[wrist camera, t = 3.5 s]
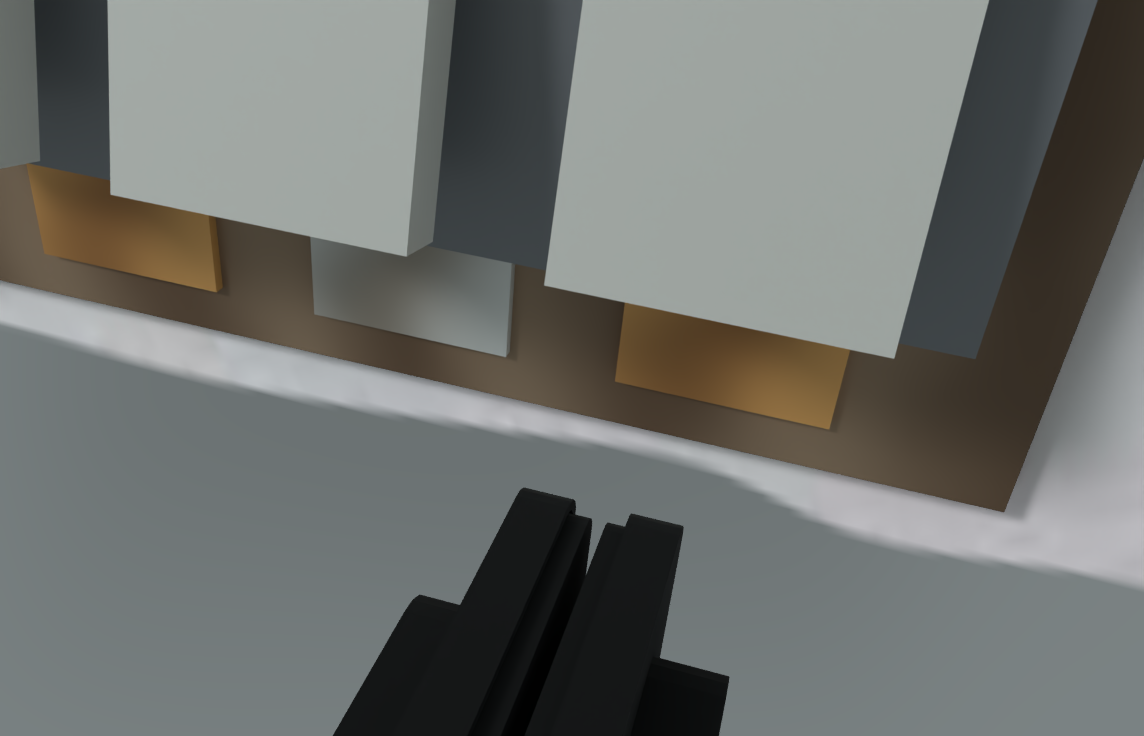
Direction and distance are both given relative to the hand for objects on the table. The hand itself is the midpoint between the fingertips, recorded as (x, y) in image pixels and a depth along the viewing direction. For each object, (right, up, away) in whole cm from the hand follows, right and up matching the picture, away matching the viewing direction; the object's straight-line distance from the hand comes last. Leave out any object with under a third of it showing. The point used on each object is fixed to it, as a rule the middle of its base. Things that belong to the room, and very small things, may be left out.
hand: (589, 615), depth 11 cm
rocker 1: (-5, +9, +7) cm, 12 cm away
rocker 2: (+3, +7, +5) cm, 10 cm away
